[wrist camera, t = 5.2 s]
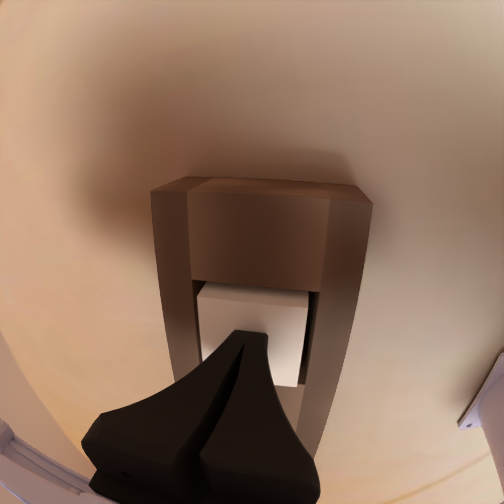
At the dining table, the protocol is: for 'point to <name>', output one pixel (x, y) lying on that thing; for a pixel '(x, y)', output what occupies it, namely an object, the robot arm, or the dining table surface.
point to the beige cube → (256, 322)
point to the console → (265, 269)
